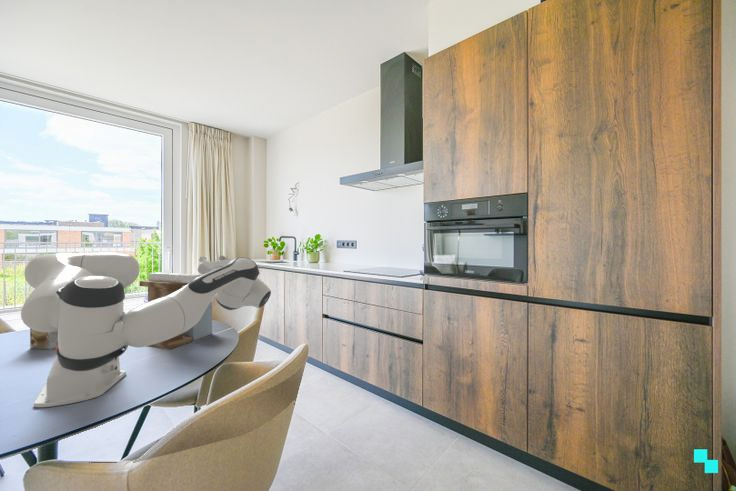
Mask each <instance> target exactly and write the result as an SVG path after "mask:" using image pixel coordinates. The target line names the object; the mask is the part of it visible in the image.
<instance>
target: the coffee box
mask: <svg viewBox="0 0 736 491" xmlns="http://www.w3.org/2000/svg"><path fill="white" fill-rule="evenodd" d="M29 331H30V332H29V335H30V336H29V348H30V349H33V350H34V349H35V350H36V349H39V350H53V349H56V346H57V345H58V331H53V332H40V331H36V330H33V329H31V328H30V329H29Z"/></svg>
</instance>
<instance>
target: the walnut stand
mask: <svg viewBox="0 0 736 491" xmlns="http://www.w3.org/2000/svg"><path fill="white" fill-rule="evenodd" d="M187 284H188V283H178V282H164V281H149V279H147V280H139V284H138V286H139V287H144V288H147V302H149V301H152V300H155V299H158V298H161V297H164V296H167V295H169V294H171V293H173V292H175V291H177V290H179V289H181V288H182V287H184V286H185V285H187ZM192 342H193V340H192V337H190V336H183V333H182V334H180V335H178V336H176V337H173V338H171V339H168V340H166V341H163V342H160V343H157V344H153V345H149V347H153V348H161V349H167V350H172V349H175V348H178V347H181V346H184V345H186V344H188V343H192Z"/></svg>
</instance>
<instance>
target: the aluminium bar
mask: <svg viewBox="0 0 736 491" xmlns="http://www.w3.org/2000/svg"><path fill="white" fill-rule="evenodd" d="M201 275H202V274H196V273H195V274H192V273H178V272H177V273H176V272H175V273H174V272H173V273H172V272H157V271H156V272H148V280H149V281H164V282H178V283H190V282H191V281H193V280H194V279H195V278H197V277H199V276H201Z"/></svg>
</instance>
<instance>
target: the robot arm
mask: <svg viewBox="0 0 736 491" xmlns="http://www.w3.org/2000/svg"><path fill="white" fill-rule="evenodd" d="M198 261H199V262H200V263H199V265H198V268H197V272H198V273H199V274H200V275H201V276H199V277H197V278H195V279H194V280H193V281H191V282H190V283H188V284H187V285H185V286H183V287H182V288H181V289H179V290H177V291H175V292H173V293H171V294H169V295H167V296H164V297H161V298H158V299H155V300H152V301H149V302H148V301H147V302H145V303H143V304H141V305H138V306H136V307H135V308H132V309H125V310H124V300H125V298H126V295H125V294H126V293H125V289H126V288H128V286H130V285H132V284H133V283H134V282H135V281H136V280H137V278H138V277H139V274H140V271H141V270H140V269H141V268H140V264H139V261H138V260H137V258H135V257H134V256H133V255H131V254H127V253H119V252H67V253H66V252H61V253H60V252H58V253H50V254H44V255H38V256H35V257H33V258H32V259H31V260H30V261H29V262H28V263H27V265H26V266H25V269H24V278H25V281H26V283H27V284H28V285H30V287H32V288H33V290H32V291H31V292H30V294H29V295H28V296H27V298H26V299H25V301H24V303H23V306H22V308H21V310H20V318H21V320H22V322H23V324H24V325H25V327H27V328H31V329H33V330H36V331H40V332H53V331H58V345H57V346H56V348H55V352H56V355H55V359H54V361H53V363H52V366H51V368H50V371H49V374H48V375H47V379H46V382H45V384H44V385H43V387H42V389H41V390H40V392H39V393H38V395H37V397H36V398H35V400H34V402H33V407H34V408H50V407H57V406H65V405H70V404H74V403H79V402H84V401H87V400H91V399H95V398H98V397H100V396H102V395H104V393H106V392H107V391H109V389H111V388H113V386H114V385H115V384H117V383H118V382H119V381H120V380H121V379H123V377H125V376H126V375H127V371H126V370H125V369H121V366H120V365H121V364H120V357H121V356H122V355H123V354H124V353H125V352H126V351H127V349H128V347H129V346H130V347H133V348H143V347H148V346H149V345H153V344H157V343H160V342H163V341H166V340H168V339H171V338H173V337H176V336H178V335H180V334H182V333H184V332H186V331H188V330H189V329H191V328H192V327H193V326H194V325H196V324H197V323H198V322H199V320H200V319H201V317H202V316H203V314H204V312H205V311H206V309H207V307H208V305H209V303H210V302H211V301H212V300H213V299H214V297H215V301H216V302H217V304H218V305H220V306H221V307H222V308H223V309H226V310H227V311H234V310H238V309H240V308H242V307H254V308H256V309H261V308H262V307H263V306H265V305H266V303H268V301H269V299H270V297H271V294H272V290H271V289H270V287H269V286H268V285H267V284H266V283H265V282H264V281H262V280H261V279H260V278H258V277H259V275H260V270H259V267H258V264H257V263H256V262H255V261H254V260H252V259H251V258H248V257H243V256H242V257H236V258H233V259H232V258H229V257H226V256H225V255H219V257H218V260H209V261H208V259H207V257H205V256H199V260H198ZM149 347H150V346H149Z"/></svg>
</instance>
